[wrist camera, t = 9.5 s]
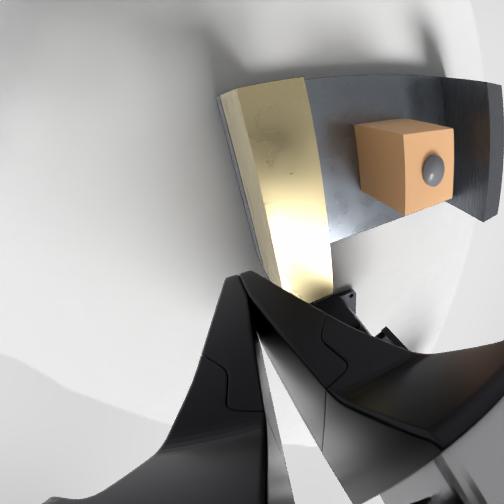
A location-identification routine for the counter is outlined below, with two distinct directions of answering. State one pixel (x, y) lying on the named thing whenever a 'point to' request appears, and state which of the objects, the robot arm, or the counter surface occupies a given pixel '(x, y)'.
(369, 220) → the vise bed
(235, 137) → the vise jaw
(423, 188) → the block
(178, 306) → the counter surface
